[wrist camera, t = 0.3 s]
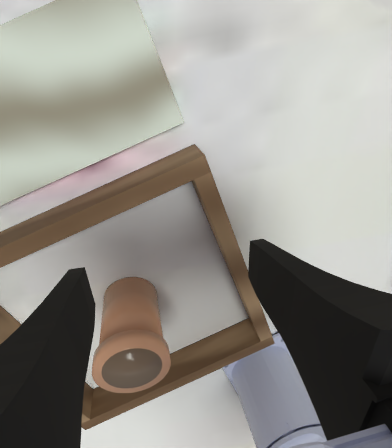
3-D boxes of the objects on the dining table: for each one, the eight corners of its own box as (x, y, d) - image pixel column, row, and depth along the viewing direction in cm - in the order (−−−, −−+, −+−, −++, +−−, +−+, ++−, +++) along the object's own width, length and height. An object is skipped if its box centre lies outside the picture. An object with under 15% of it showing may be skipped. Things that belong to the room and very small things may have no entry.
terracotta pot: (169, 304, 27) (182, 373, 20) (118, 327, 26) (116, 403, 20) (144, 264, 24) (151, 330, 18) (88, 290, 24) (75, 365, 18)
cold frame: (262, 320, 30) (274, 343, 28) (88, 399, 30) (85, 429, 28) (128, -28, 15) (128, -49, 12) (-225, 131, 15) (-299, 144, 12)
